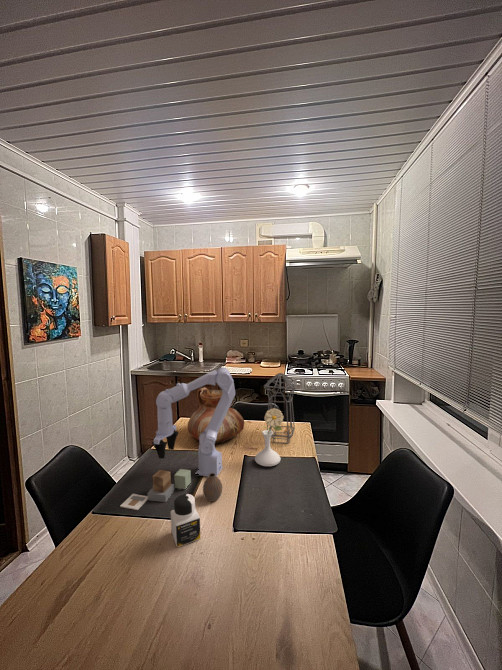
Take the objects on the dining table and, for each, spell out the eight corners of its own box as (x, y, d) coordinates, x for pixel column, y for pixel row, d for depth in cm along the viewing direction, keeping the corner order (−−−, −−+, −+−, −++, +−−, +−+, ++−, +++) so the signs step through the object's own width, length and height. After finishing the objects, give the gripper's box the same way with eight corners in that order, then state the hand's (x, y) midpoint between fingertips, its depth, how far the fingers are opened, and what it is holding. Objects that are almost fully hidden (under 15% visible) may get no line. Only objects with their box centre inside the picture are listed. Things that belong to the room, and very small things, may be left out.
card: (149, 497, 110) (149, 496, 110) (137, 510, 103) (137, 508, 103) (133, 494, 111) (132, 493, 111) (120, 506, 105) (120, 505, 105)
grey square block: (174, 491, 114) (174, 483, 113) (165, 503, 107) (165, 495, 107) (157, 489, 115) (157, 482, 115) (147, 501, 108) (147, 493, 108)
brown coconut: (225, 494, 111) (225, 472, 110) (216, 506, 104) (215, 482, 104) (209, 490, 114) (209, 468, 113) (199, 500, 107) (198, 477, 107)
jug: (250, 427, 172) (249, 384, 170) (235, 452, 143) (234, 401, 140) (201, 423, 179) (199, 382, 176) (177, 446, 150) (175, 397, 147)
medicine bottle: (176, 548, 86) (175, 509, 85) (171, 532, 92) (169, 495, 91) (200, 539, 89) (199, 501, 88) (193, 524, 96) (192, 488, 95)
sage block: (191, 483, 118) (190, 470, 118) (185, 490, 114) (185, 476, 113) (180, 482, 119) (180, 468, 119) (175, 488, 115) (174, 475, 114)
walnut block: (171, 485, 112) (170, 471, 112) (163, 492, 108) (162, 478, 108) (161, 483, 114) (160, 469, 113) (153, 490, 110) (152, 475, 109)
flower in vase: (251, 466, 130) (250, 410, 128) (260, 454, 141) (259, 402, 138) (280, 472, 125) (279, 413, 123) (287, 459, 136) (287, 405, 133)
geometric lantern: (264, 445, 150) (262, 375, 148) (269, 433, 165) (267, 370, 163) (295, 447, 147) (294, 376, 144) (298, 434, 162) (297, 370, 160)
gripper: (165, 414, 130) (166, 444, 131) (146, 427, 116) (147, 461, 117) (180, 415, 128) (181, 446, 129) (162, 429, 114) (164, 463, 115)
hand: (166, 453), depth 123 cm, fingers open, 7 cm apart
